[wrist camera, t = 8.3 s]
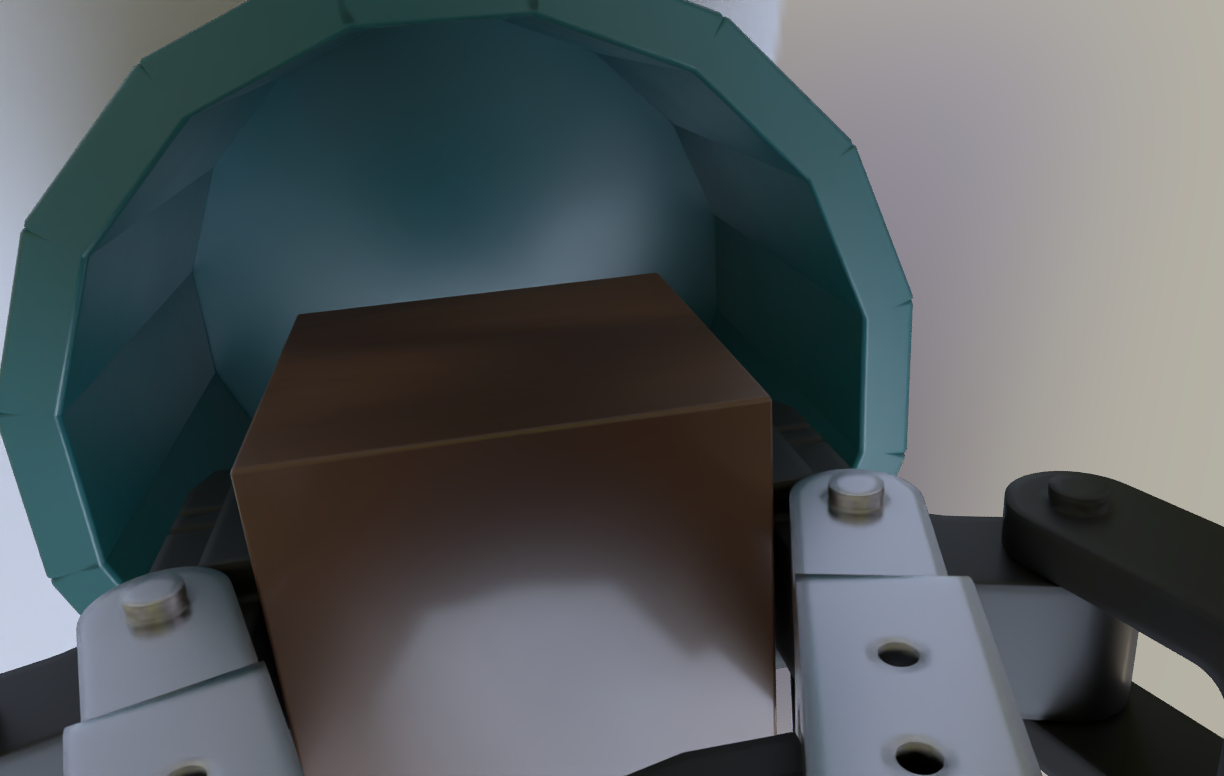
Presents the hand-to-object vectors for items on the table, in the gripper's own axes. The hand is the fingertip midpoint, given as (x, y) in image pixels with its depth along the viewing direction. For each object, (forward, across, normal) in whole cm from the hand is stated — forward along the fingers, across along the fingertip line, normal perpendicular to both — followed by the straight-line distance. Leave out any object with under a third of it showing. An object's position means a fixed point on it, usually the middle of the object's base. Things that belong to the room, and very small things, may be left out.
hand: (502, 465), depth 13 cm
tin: (+10, 0, 0) cm, 10 cm away
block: (0, 0, 0) cm, 0 cm away
